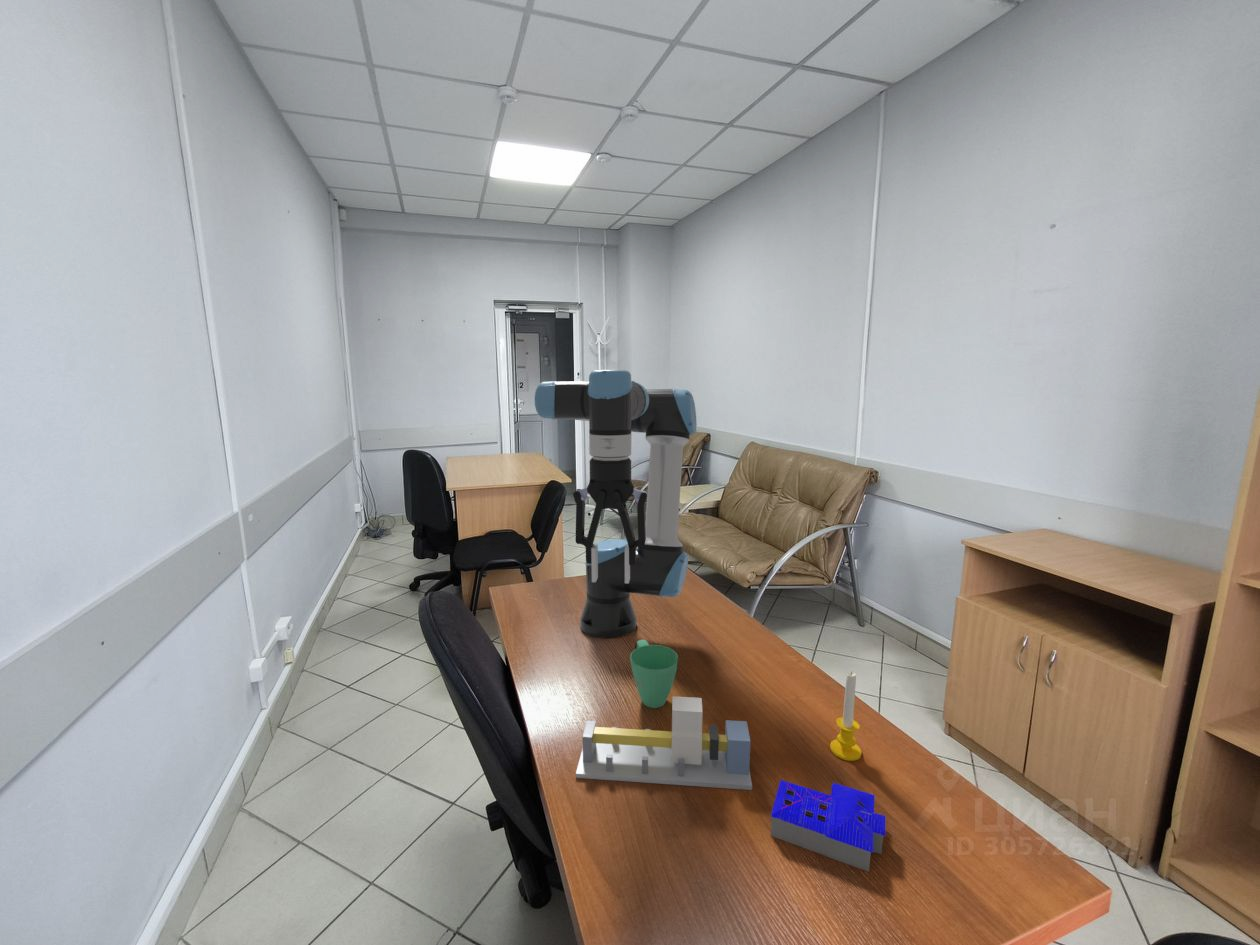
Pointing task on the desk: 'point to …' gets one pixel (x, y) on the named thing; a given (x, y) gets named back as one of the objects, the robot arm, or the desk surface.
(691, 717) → the sleeve
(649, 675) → the mug
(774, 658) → the desk surface
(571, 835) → the desk surface
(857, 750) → the candle
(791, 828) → the house
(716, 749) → the comb rig
